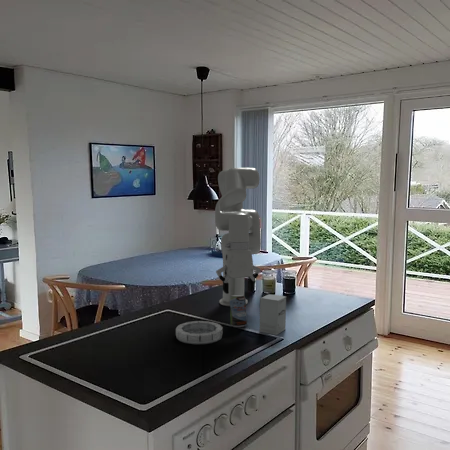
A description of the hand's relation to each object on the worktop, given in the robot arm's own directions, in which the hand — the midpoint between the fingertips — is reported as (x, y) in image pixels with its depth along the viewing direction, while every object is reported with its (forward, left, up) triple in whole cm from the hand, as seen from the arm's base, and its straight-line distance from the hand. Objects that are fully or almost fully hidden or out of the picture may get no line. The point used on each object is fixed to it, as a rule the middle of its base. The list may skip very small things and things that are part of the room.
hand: (238, 292), depth 170 cm
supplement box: (+9, +10, -14) cm, 19 cm away
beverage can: (0, 0, -13) cm, 13 cm away
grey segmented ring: (+6, -17, -13) cm, 22 cm away
